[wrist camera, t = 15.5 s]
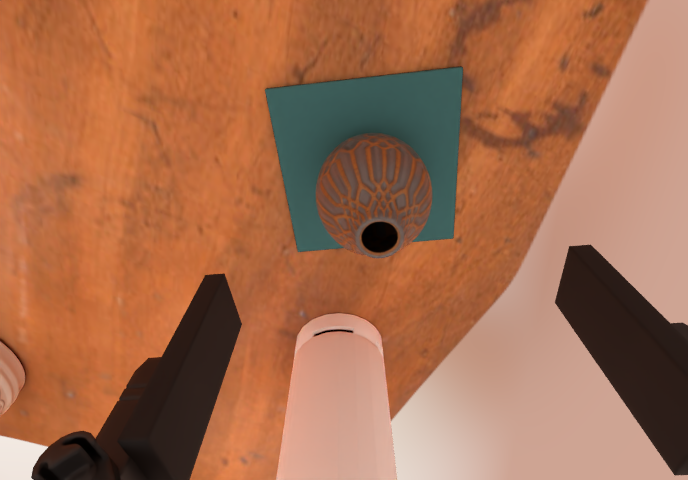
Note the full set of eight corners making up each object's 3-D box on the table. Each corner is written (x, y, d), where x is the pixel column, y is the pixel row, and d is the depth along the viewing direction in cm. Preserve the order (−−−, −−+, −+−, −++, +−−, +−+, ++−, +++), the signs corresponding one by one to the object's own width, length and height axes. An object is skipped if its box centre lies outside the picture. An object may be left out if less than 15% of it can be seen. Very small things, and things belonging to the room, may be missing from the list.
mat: (461, 66, 22) (463, 67, 22) (452, 235, 29) (453, 238, 28) (265, 88, 23) (264, 89, 23) (298, 249, 29) (297, 252, 29)
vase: (398, 102, 23) (423, 145, 16) (433, 193, 26) (468, 266, 19) (301, 148, 25) (282, 208, 17) (345, 230, 28) (346, 310, 21)
